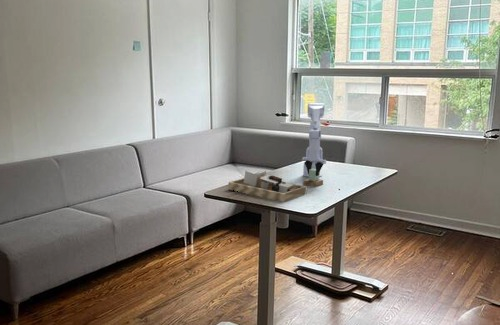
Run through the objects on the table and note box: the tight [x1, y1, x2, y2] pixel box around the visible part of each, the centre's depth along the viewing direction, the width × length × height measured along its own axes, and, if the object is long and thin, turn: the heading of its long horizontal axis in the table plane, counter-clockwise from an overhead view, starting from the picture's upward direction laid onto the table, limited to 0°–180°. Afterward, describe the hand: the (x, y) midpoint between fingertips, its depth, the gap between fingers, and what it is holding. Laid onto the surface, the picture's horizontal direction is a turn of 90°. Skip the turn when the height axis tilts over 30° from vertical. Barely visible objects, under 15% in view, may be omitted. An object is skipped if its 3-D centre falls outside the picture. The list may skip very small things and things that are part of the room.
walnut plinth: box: [302, 178, 324, 188], centre depth 269 cm, size 8×8×3 cm
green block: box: [308, 169, 319, 181], centre depth 268 cm, size 4×4×6 cm
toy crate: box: [228, 178, 307, 203], centre depth 252 cm, size 36×20×4 cm, turn 51°
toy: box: [244, 170, 298, 193], centre depth 252 cm, size 12×10×30 cm
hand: (313, 174), depth 268 cm, fingers open, 5 cm apart
